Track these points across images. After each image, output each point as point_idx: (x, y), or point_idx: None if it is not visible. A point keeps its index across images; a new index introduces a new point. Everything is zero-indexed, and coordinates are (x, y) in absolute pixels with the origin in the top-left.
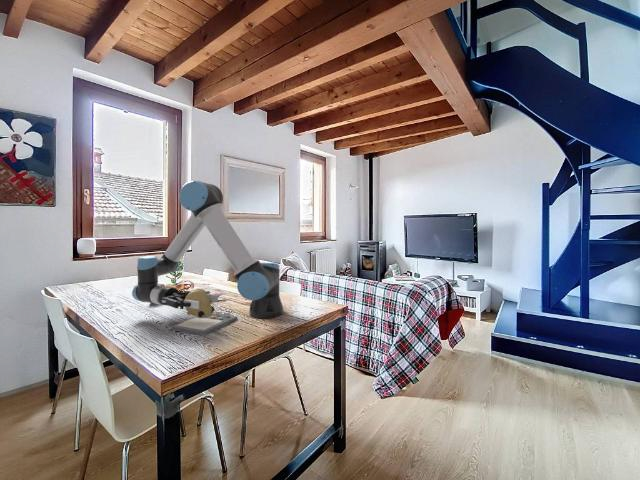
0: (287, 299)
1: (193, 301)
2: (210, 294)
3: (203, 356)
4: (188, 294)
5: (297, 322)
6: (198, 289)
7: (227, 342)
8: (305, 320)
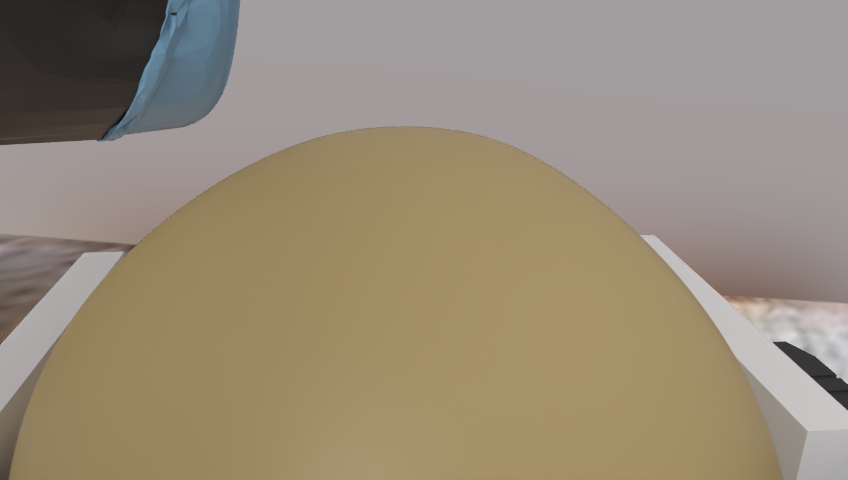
0: None
1: (697, 278)
2: (29, 342)
3: (789, 331)
4: (708, 324)
5: (49, 251)
6: (419, 138)
7: None
8: (3, 240)
